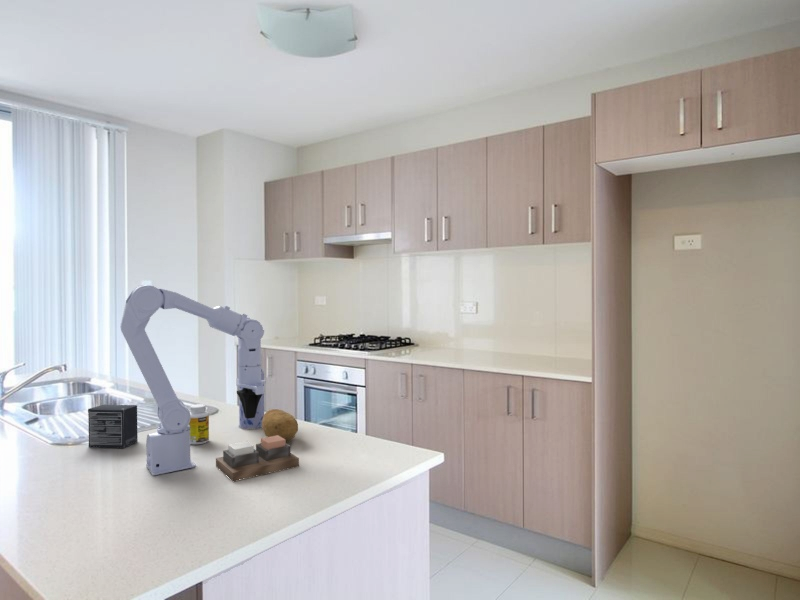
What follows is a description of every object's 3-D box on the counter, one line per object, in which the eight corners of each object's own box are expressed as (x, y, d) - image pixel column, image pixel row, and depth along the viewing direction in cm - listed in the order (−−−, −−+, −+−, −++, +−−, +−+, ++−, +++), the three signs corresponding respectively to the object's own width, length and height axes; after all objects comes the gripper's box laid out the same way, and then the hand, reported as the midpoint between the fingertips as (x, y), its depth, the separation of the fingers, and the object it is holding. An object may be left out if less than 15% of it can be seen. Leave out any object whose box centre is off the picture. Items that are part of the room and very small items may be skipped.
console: (232, 481, 112) (232, 462, 112) (215, 466, 121) (215, 448, 121) (299, 466, 122) (298, 448, 121) (278, 453, 131) (278, 436, 131)
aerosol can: (238, 423, 159) (238, 360, 159) (264, 421, 161) (264, 359, 161) (238, 430, 152) (238, 364, 151) (265, 428, 154) (265, 363, 153)
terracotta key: (268, 451, 121) (267, 442, 121) (260, 446, 124) (260, 438, 124) (285, 447, 123) (285, 439, 123) (277, 443, 127) (277, 435, 127)
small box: (139, 441, 141) (138, 404, 141) (124, 449, 134) (123, 409, 134) (103, 440, 142) (103, 403, 142) (87, 447, 135) (86, 408, 135)
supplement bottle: (198, 446, 136) (197, 408, 136) (182, 443, 139) (182, 406, 138) (213, 440, 142) (213, 404, 141) (198, 438, 144) (198, 402, 143)
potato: (273, 450, 133) (272, 420, 133) (255, 437, 145) (254, 409, 145) (307, 443, 139) (306, 414, 139) (287, 431, 151) (287, 404, 150)
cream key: (234, 458, 116) (234, 449, 116) (228, 452, 119) (228, 444, 119) (253, 454, 118) (253, 445, 118) (246, 449, 122) (246, 441, 122)
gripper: (275, 367, 127) (276, 421, 127) (254, 360, 138) (254, 409, 139) (248, 370, 122) (248, 425, 123) (228, 362, 134) (228, 413, 134)
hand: (250, 417), depth 130 cm, fingers closed
